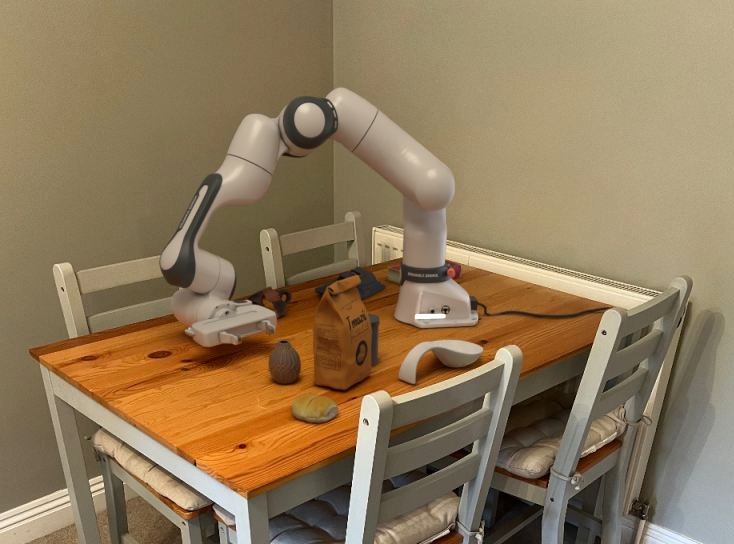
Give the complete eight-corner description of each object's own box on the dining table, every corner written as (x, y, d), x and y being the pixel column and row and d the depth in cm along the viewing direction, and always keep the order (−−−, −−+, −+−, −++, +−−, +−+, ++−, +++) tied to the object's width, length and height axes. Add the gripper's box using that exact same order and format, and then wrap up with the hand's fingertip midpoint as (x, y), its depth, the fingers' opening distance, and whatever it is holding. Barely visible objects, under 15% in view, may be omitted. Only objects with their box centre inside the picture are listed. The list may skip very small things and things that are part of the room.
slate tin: (378, 355, 175) (379, 313, 169) (378, 367, 168) (379, 323, 163) (347, 355, 175) (347, 312, 169) (346, 367, 168) (346, 323, 163)
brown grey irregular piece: (264, 324, 193) (249, 295, 191) (254, 330, 202) (239, 302, 199) (302, 305, 197) (288, 276, 195) (291, 312, 206) (277, 284, 203)
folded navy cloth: (305, 296, 213) (305, 279, 210) (346, 278, 229) (346, 263, 226) (351, 305, 207) (351, 288, 204) (389, 286, 223) (390, 270, 220)
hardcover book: (461, 277, 232) (462, 263, 230) (412, 289, 221) (413, 274, 219) (434, 269, 240) (435, 255, 238) (386, 280, 228) (386, 266, 226)
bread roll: (307, 402, 152) (307, 384, 150) (343, 413, 148) (343, 394, 146) (282, 416, 146) (281, 397, 144) (319, 428, 142) (319, 409, 140)
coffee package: (378, 378, 163) (381, 277, 151) (344, 396, 155) (344, 291, 143) (342, 367, 168) (342, 268, 156) (307, 384, 160) (304, 281, 148)
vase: (303, 375, 164) (302, 336, 159) (298, 387, 158) (297, 348, 154) (273, 373, 165) (271, 335, 160) (266, 385, 159) (264, 346, 154)
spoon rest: (451, 349, 179) (454, 320, 175) (491, 362, 172) (495, 332, 168) (386, 376, 164) (387, 345, 160) (427, 391, 158) (429, 359, 154)
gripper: (179, 316, 164) (215, 332, 155) (253, 298, 176) (291, 312, 168) (182, 344, 167) (218, 361, 159) (255, 324, 179) (292, 339, 171)
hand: (256, 335), depth 163 cm, fingers open, 8 cm apart
